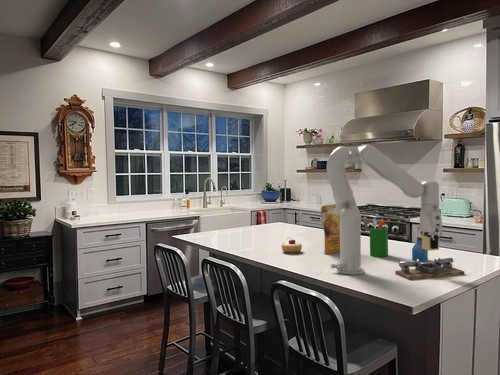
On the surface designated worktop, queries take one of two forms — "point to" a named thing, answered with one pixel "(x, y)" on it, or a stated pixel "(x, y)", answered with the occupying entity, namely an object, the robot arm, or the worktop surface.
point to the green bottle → (379, 240)
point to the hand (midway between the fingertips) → (430, 247)
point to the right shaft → (444, 262)
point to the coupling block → (428, 242)
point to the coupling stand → (429, 272)
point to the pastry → (291, 247)
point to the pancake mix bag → (331, 228)
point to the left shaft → (409, 265)
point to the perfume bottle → (419, 251)
